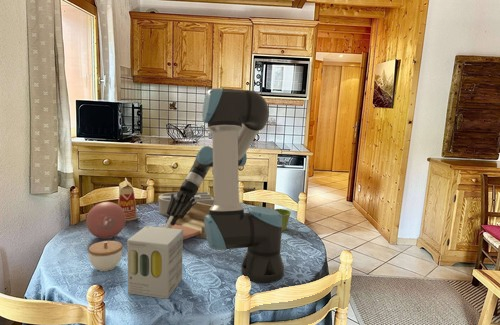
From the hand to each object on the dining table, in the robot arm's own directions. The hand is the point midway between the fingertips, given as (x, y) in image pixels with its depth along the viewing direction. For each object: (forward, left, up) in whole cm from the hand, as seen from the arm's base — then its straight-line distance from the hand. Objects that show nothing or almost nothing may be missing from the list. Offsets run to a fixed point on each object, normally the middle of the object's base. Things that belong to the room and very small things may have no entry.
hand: (165, 231), depth 144 cm
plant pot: (+44, -33, -6) cm, 56 cm away
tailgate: (+13, 0, -3) cm, 14 cm away
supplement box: (-28, -20, -6) cm, 35 cm away
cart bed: (+21, 0, -5) cm, 22 cm away
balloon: (-11, +23, -6) cm, 26 cm away
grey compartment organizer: (+39, +20, -6) cm, 44 cm away
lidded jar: (-28, +3, -6) cm, 28 cm away
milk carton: (+13, +37, -6) cm, 40 cm away
